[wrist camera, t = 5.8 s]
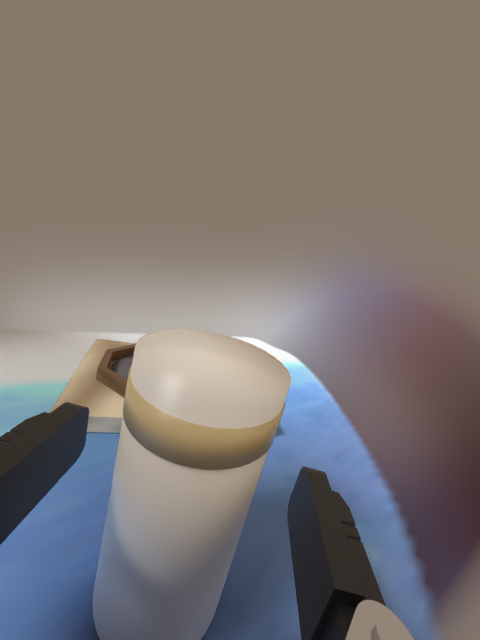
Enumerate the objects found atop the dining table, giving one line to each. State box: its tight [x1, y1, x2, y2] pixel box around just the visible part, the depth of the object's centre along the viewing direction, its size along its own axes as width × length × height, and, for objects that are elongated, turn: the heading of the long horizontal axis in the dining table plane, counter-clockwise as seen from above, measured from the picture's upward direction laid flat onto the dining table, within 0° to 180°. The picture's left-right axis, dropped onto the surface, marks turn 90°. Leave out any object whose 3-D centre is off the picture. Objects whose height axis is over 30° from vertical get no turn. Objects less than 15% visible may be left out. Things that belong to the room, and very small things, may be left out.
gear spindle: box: [92, 329, 291, 640], centre depth 10 cm, size 5×5×10 cm
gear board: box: [50, 339, 136, 433], centre depth 25 cm, size 16×13×2 cm
